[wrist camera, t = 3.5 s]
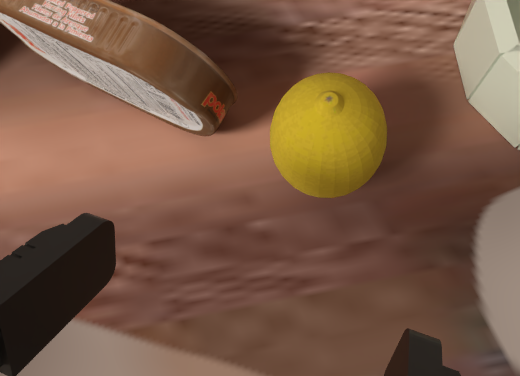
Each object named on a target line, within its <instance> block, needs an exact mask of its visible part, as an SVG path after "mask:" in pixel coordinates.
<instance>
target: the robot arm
mask: <svg viewBox="0 0 520 376" xmlns="http://www.w3.org/2000/svg"><path fill="white" fill-rule="evenodd" d="M115 266H116V255H115V229H114V224H113V222H111V221H109V220H106V219H104V218H101V217H98V216H95V215H92V214H90V213H83V214H81V215H80V216H78V217H77V218H76V219H74V220H73V221H71V222H70V223H69V224H67V225H64V224H61V225H58V226H55V227H53V228H50V229H47V230H45V231H42V232H41V233H39V234H38V235H36V236H35V237H33V238H32V239H30V240H29V241H28V242H26V243H25V245H24V246H23V245H22V246H20V247H19V248H18V249H16V250H15V251H13V252H12V254H11V255H8V256H6V257H5V258H3V259H2V260H0V372H1V373H3V374H5V375H7V376H16V375H17V374H18V373H19V372H20V371H21V370H22V369H23V368H24V367H25V366H26V365H27V364H28V363H29V362H30V361H31V360H32V359H33V358H34V357H35V356H36V355H37V354H38V353H39V352H40V351H41V350H42V349H43V348H44V347H45V346H46V345H47V344H48V343H49V342H50V341H51V340H52V339H53V338H54V337H55V336H56V335H57V334H58V333H59V332H60V331H61V330H62V329H63V328H64V327H65V326H66V325H67V324H68V323H69V322H70V321H71V320H72V319H73V318H74V317H75V316H76V315H77V314H78V313H79V312H80V311H81V310H82V309H83V308H84V307H85V306H86V305H87V304H88V303H89V302H90V301H91V300H92V299H93V298H94V297H95V296H96V295H97V294H98V293H99V292H100V291H101V290H102V289H103V288H104V287H105V286H106V285H107V283H108V282H109V281H110V279H111V277H112V275H113V273H114V270H115ZM384 376H461V375H460V373H459V372H458V371H456V370H453V369H450V368H448V367H445V366H442V346H441V342H440V340H439V339H436V338H433V337H430V336H428V335H425V334H422V333H419V332H416V331H414V330H411V329H408V328H407V329H406V330H405V331H404V333H403V335H402V337H401V339H400V341H399V343H398V346H397V348H396V350H395V352H394V354H393V356H392V358H391V360H390V362H389V364H388V366H387V369H386V371H385V374H384Z"/></svg>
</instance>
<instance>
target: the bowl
mask: <svg viewBox="0 0 520 376" xmlns="http://www.w3.org/2000/svg"><path fill="white" fill-rule="evenodd" d="M454 44H455V45H454V50H455V54H456V58H457V62H458V66H459V70H460V74H461V78H462V82H463V86H464V90H465V94H466V98H467V99H470V100H469V101H468V102H469V103H470V104H471V105H472V106H473V107H474V108H475V109H476V110H477V111H478V112H479V113H480V114H481V115H482V116H483V117H484V118H485V119H486V120H487V121H488V122H489V123H490V124H491V125H492V126H493V127H494V128H495V129H496V130H497V131H498V132H499V133H500V134H501V135H502V136H503V137H504V138H505V139H506V140H507V141H508V142H509V143H510V144H511V145H512V146H513V147H514V148H515V147H517V146H518V150H520V0H472V1H471V4H470V6H469V8H468V11H467V13H466V16H465V18H464V21H463V23H462V25H461V28H460V30H459V33H458V35H457V38H456V40H455V42H454Z"/></svg>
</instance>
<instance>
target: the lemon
mask: <svg viewBox="0 0 520 376" xmlns="http://www.w3.org/2000/svg"><path fill="white" fill-rule="evenodd" d="M386 143H387V125H386V120H385V116H384V112H383V109H382V106H381V105H380V103H379V101H378V99H377V97H376V96H375V94H374V93H373V92H372V91H371V90H370V89H369V88H368V87H367V86H366V85H365V84H363V83H362V82H360V81H358V80H357V79H355V78H353V77H350V76H347V75H344V74H340V73H321V74H316V75H313V76H310V77H307V78H304V79H303V80H301V81H300V82H298V83H297V84H295V85H293V87H292V88H291V89H290V90H289V91H288V92H287V93H286V94H285V95H284V96H283V97H282V99H281V101H280V103H279V104H278V106H277V108H276V110H275V112H274V116H273V120H272V124H271V128H270V148H271V152H272V155H273V159H274V162H275V164H276V166H277V168H278V169H279V171H280V172H281V174H282V176H283V177H284V178H285V179H286V180H287V181H288V182H289V183H290V184H291V185H292V186H293V187H294V188H296V189H298V190H300V191H301V192H303V193H305V194H308V195H311V196H315V197H319V198H334V197H338V196H343V195H347V194H349V193H351V192H353V191H355V190H357V189H359V188H360V187H361V186H362V185H363V184H365V183H366V182H367V181H368V180H369V179H370V178H371V177H372V176H373V174H374V173H375V171H376V170H377V168H378V167H379V165H380V163H381V161H382V158H383V155H384V152H385V149H386Z"/></svg>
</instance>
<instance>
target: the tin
mask: <svg viewBox="0 0 520 376" xmlns="http://www.w3.org/2000/svg"><path fill="white" fill-rule="evenodd" d="M0 23H1V24H2V25H3V26H4V27H6V28H7V29H8V30H9V31H11V32H12V33H13V34H14V35H16V36H17V37H18V38H19V39H20V40H21V41H22V42H23V43H24V44H25V45H26V46H27V47H28V48H29V49H30V50H32V51H33V52H34V53H36V54H37V55H39V56H40V57H42V58H43V59H45V60H47V61H48V62H50V63H51V64H53V65H55V66H56V67H58V68H60V69H61V70H63V71H65V72H66V73H68V74H70V75H72V76H74V77H75V78H77V79H79V80H81V81H83V82H85V83H87V84H89V85H91V86H93V87H95V88H97V89H99V90H101V91H103V92H105V93H107V94H109V95H111V96H113V97H115V98H117V99H119V100H121V101H122V102H125V103H127V104H129V105H131V106H133V107H135V108H137V109H139V110H141V111H143V112H145V113H147V114H149V115H151V116H154V117H156V118H158V119H160V120H162V121H164V122H166V123H168V124H170V125H173V126H175V127H177V128H180V129H182V130H184V131H187V132H190V133H193V134H196V135H200V136H210V135H212V134H213V133H214V132H215V131H216V130H217V129H218V127H219V125H220V124H221V122H222V121H223V119H224V117H225V115H226V113H227V112H228V110H229V108H230V106H231V105H232V104H234V103H235V101H236V99H237V93H236V89H235V87H234V85H233V84H232V82H231V81H230V79H229V78H228V77H227V75H226V74H225V73H224V72H223V71H222V70H221V69H220V68H219V67H218V66H217V65H216V64H215V63H214V62H213V61H212V60H211V59H210V58H208V57H207V56H206V55H205V54H204V53H203V52H202V51H200V50H199V49H198V48H197V47H195V46H194V45H193V44H191V43H190V42H188V41H187V40H186V39H184V38H183V37H181V36H180V35H178V34H177V33H175V32H174V31H172V30H170V29H169V28H167V27H166V26H164V25H162V24H160V23H158V22H157V21H155V20H153V19H151V18H149V17H147V16H145V15H143V14H141V13H138V12H136V11H134V10H131V9H129V8H126V7H124V6H122V5H119V4H117V3H114V2H112V1H110V0H0Z"/></svg>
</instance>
